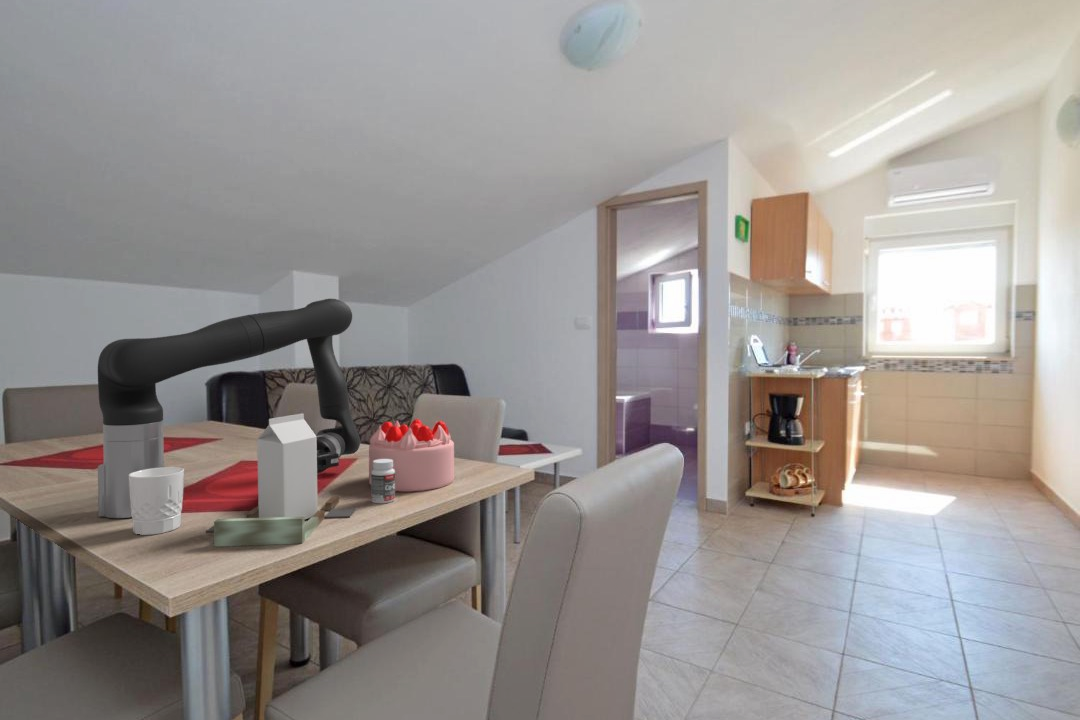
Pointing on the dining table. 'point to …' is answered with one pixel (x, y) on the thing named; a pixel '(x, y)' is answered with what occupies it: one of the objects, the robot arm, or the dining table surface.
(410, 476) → the cake
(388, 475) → the pill bottle
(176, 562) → the dining table surface
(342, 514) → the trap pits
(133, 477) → the white cup
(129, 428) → the robot arm
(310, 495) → the milk carton
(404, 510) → the dining table surface
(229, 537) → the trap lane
